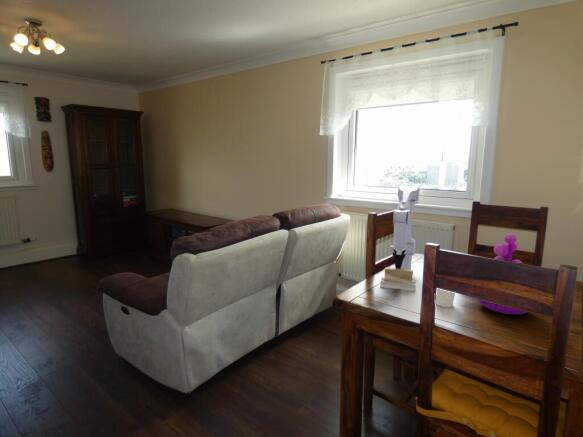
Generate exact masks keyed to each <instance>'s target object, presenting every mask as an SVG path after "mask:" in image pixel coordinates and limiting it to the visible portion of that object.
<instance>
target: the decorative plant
mask: <svg viewBox="0 0 583 437" xmlns="http://www.w3.org/2000/svg"><path fill="white" fill-rule="evenodd" d="M517 240H518V239H517V236H516V235H515V234H514V233H507V234H506V235H505V236H504V242H505V243H507V244H505V243H498V244H496V245H494V247H493V252H494V254H495V255H497V256H495V257H494V258H493V260H494V259H499V260H504V261H511V262H516V263H522V264H523V262H522V261H521V260H519V259H513V258H512V256H513V253H514V252H515V251H517V250H518V244H516V243H517ZM512 259H513V260H512ZM477 301H478V302H479V303H480V305H482V306H483V307H485V308H487V309H489V310H491V311H493V312H497V313H501V314H505V315H523V314H526V313H528V312H527V311H523V310H519V309H515V308H511V307H507V306H502V305H498V304H494V303H490V302H486V301H482V300H479V299H477Z"/></svg>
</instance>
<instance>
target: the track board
mask: <svg viewBox="0 0 583 437" xmlns="http://www.w3.org/2000/svg"><path fill="white" fill-rule="evenodd" d="M384 279H385V276H381V279H380V284H379V285H380V288H388V289H395V290H404V291H411V292H412V291H413V292H416V287H417V285H416V282H417V281H416V280H412V284H407V283H398V282H389V281H384Z"/></svg>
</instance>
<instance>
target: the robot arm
mask: <svg viewBox="0 0 583 437" xmlns="http://www.w3.org/2000/svg"><path fill="white" fill-rule="evenodd" d="M397 198H398V201H399V202H398V204H397V205H396V206H397V207H396V210H395V211H394V212H393V215H392V216H393V217H392V218H393V219H392V220H393V238H392V239H393V242H392V244H391V245H390V248H391V249H393V252H392V257H393V260H394V268H396V269H407V270H411V269H412V262H413V261H412V260H413V257H414V256H415V254H416V240H415V239H414V238H412V236H411V232H412V221H413V210H414V206H416V205H417V204H419V200H420V187H419V186H401V185H400V186H399V187H398V189H397Z"/></svg>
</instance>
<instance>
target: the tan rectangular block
mask: <svg viewBox="0 0 583 437" xmlns="http://www.w3.org/2000/svg"><path fill="white" fill-rule="evenodd" d="M413 273H414V270H413V269H412V270H407V269H396V267H385V268H384V277H385V279H384V281H389V282H398V283H407V284H412V281H413V275H414V274H413Z"/></svg>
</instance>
